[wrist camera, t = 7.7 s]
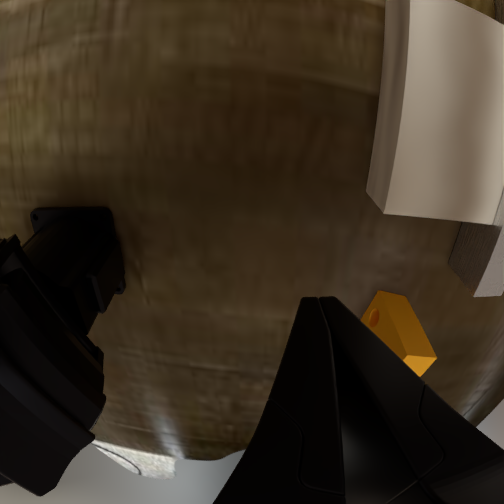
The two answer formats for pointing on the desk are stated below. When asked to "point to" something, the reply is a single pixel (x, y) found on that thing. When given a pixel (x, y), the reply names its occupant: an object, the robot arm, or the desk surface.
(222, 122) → the desk surface
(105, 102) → the desk surface
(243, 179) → the desk surface
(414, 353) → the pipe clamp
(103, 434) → the desk surface
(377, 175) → the beige rectangular block
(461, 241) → the bar
